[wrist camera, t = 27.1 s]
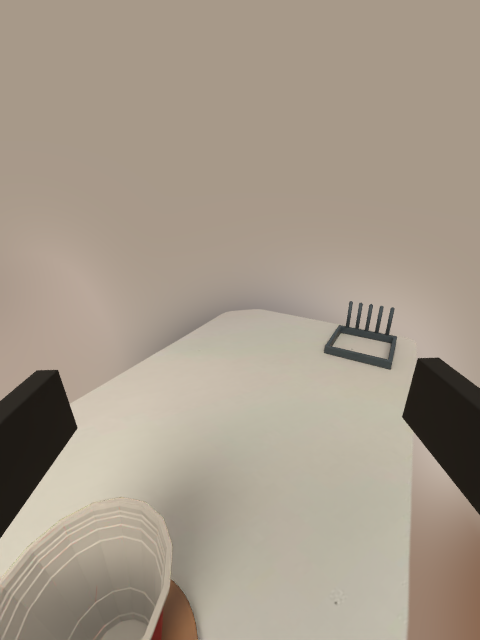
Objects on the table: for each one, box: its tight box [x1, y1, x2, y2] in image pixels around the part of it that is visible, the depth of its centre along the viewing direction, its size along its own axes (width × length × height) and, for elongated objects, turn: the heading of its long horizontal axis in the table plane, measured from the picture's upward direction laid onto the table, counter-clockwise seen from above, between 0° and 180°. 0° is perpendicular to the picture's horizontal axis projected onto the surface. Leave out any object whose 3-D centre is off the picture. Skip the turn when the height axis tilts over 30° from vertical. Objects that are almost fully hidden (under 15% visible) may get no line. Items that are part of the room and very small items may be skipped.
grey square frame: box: [324, 301, 397, 369], centre depth 65 cm, size 14×14×9 cm
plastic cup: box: [0, 497, 173, 640], centre depth 18 cm, size 11×11×12 cm
